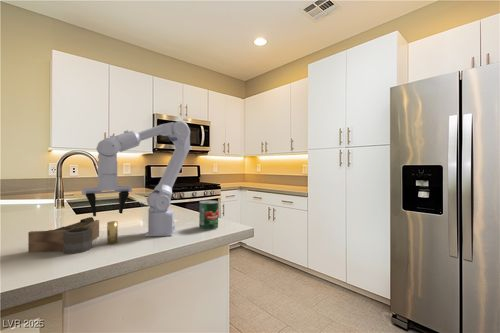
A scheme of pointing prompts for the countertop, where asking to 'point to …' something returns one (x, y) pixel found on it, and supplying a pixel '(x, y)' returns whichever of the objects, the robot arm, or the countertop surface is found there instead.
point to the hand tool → (77, 224)
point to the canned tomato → (208, 215)
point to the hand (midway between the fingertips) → (107, 214)
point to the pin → (112, 232)
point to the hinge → (64, 239)
